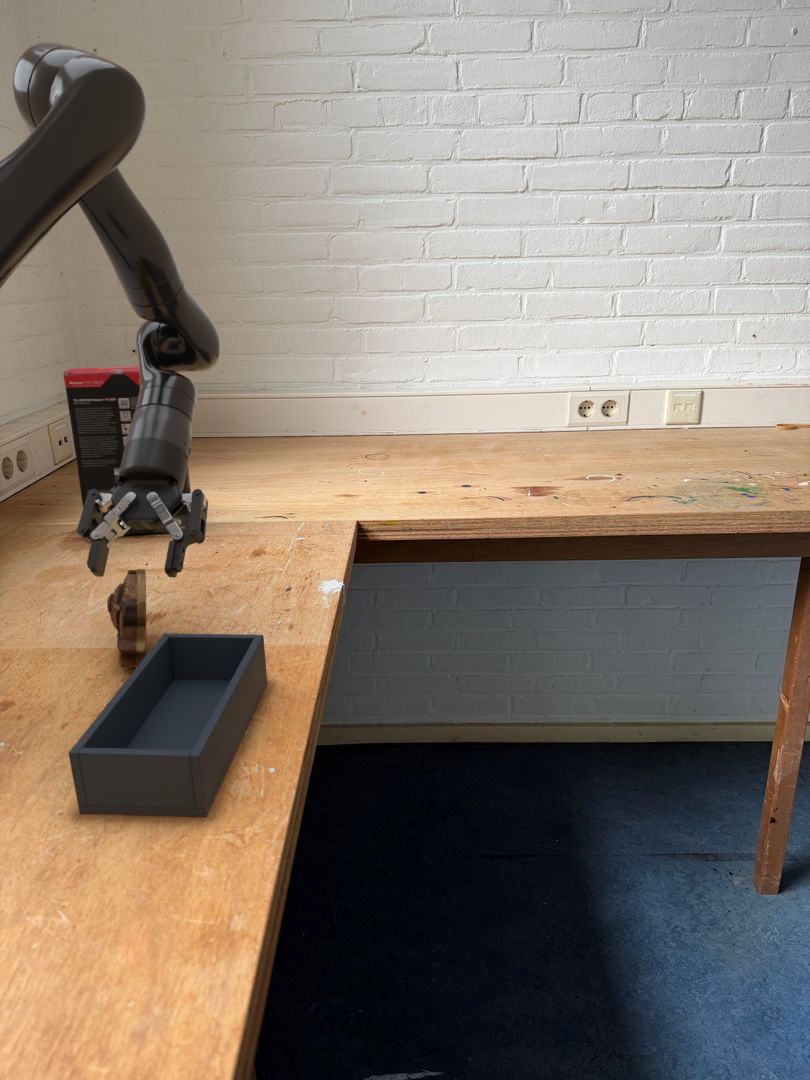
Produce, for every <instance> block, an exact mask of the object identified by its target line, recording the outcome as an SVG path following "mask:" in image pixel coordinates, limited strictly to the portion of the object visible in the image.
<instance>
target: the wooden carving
mask: <svg viewBox="0 0 810 1080" xmlns="http://www.w3.org/2000/svg"><path fill="white" fill-rule="evenodd" d="M146 573H147V572H146V569H145V568H138V569H130V570H128V571H127V574H126V575H125V577H124V580H123V583H119V584H118V585H117V586H116V588H115V589H114V591H113V592H112V593H110V595H109V596H108V598H107V602H106V608H107V612H108V613H109V617H110V620H111V622H112V623H111V624H112V626H113V627H114V629H116V631H117V634H116V637H117V640H116V647H117V650H118V664H119V667H120V668H122V669H123V668H124V669H125V668H137V667H138V665H139V664H140V663H141V662H142V660H143V659H144V658H145V657H146V655H147V654H148V653H147V647H148V646H147V574H146Z"/></svg>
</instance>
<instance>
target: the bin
mask: <svg viewBox="0 0 810 1080" xmlns="http://www.w3.org/2000/svg"><path fill="white" fill-rule="evenodd" d="M266 661H267V659H266V650H265V639H264V634H248V633H247V634H241V633H240V634H238V633H237V634H235V633H224V634H223V633H163V634H162V635H161V636H160V638H159V639H158V640H157V642H155V644H154V645H153V647H152V648H151V649H150V650H149V652H148V653H147V655H146V657H145V658H144V659H143V660H142V662H141V663H140V664H139V665H138V667H135V669H134V670H133V672H132V673H131V674H130V675H129V677H128V678H127V679H126V680H125V682H123V684H122V685H121V687H120V688H118V690H117V691H116V693H115V694H114V695H113V696H112V698H111V699H110V700H109V702H108V703H107V704H106V705H105V707H104V708H103V709H102V710H101V711H100V712H99V714H97V716H96V718H95V719H94V720H93V722H92V723H91V724H90V725H89V726H88V728H87V729H86V730H85V731H84V732H83V734H82V735H81V736H80V738H79V739H78V740H77V741H76V742H75V744H74V745H73V746H72V748H71V749H70V750H69V751H68V758H69V763H70V764H69V765H70V768H71V774H72V780H73V785H74V790H75V791H74V792H75V796H76V802H77V806H78V807H77V808H78V812H79V814H91V815H93V814H94V815H123V816H124V815H127V816H128V815H129V816H160V817H161V816H163V817H164V816H166V817H168V816H169V817H195V818H201V817H202V818H206V817H207V816H208V815H209V812H210V810H211V807H212V805H213V803H214V802H215V799H216V797H217V795H218V792H219V790H220V788H221V786H222V784H223V782H224V779H225V778H226V775H227V773H228V771H229V768H230V766H231V764H232V762H233V760H234V758H235V756H236V753H237V751H238V750H239V747H240V744H241V743H242V740H243V738H244V736H245V733H246V731H247V730H248V727H249V725H250V723H251V721H252V719H253V716H254V714H255V712H256V709H257V707H258V705H259V703H260V701H261V699H262V697H263V694H264V692H265V690H266V688H267V686H268V674H267V662H266Z"/></svg>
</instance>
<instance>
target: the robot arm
mask: <svg viewBox="0 0 810 1080" xmlns="http://www.w3.org/2000/svg"><path fill="white" fill-rule="evenodd" d="M12 91H13V92H12V93H13V98H14V99H13V100H14V103H15V105H16V108H17V110H18V113H19V114H20V115H19V116H20V117H21V118H22V121H23V122H24V123H25V125H26V127H27V129H28V130H29V132H30V133H29V135H28V136H27V137H26V138H25V140H23V142H21V144H19V146H17V147H16V148H15V149H14V150H13V151H12V152H10V153H9V154H8V155H7V156H5V157H4V158H2V159H0V290H1V289H2V288H3V286H4V285H5V284H6V282H8V280H9V279H10V277H11V276H12V275H13V273H14V272H15V271H16V270H17V269H18V268H19V266H20V265H21V264H22V263H23V262H24V261H25V259H27V257H29V256H30V254H31V253H32V252H33V251H34V250H35V249H36V247H38V246H39V245H40V243H41V242H42V241H43V240H44V239H45V238H46V237H47V235H48V234H50V232H51V231H53V230H52V229H54V228H55V226H56V225H57V224H58V223H59V222H60V221H61V219H63V218H64V217H65V216H66V215H67V214H68V212H70V211H71V210H72V209H73V208H74V207H75V206H76V205H77V204H78V206H79V208H80V210H81V211H82V213H83V214H84V216H85V218H86V219H87V221H88V223H89V225H90V226H91V228H92V231H94V234H95V235H96V237H97V239H98V241H99V243H100V245H101V247H102V249H103V251H104V252H105V254H106V256H107V258H108V260H109V262H110V264H111V266H112V268H113V271H114V273H115V275H116V277H117V280H118V282H119V284H120V286H121V288H122V290H123V293H124V295H125V296H126V299H127V302H128V303H129V305H130V307H131V309H132V311H133V312H134V313H135V314H136V315H137V316H138V317H139V318H140V319H143V320H144V321H143V322H142V323H141V324H140V326H139V327H138V329H137V331H136V334H135V349H136V355H137V361H138V362H137V363H138V367H139V377H140V390H139V395H138V399H137V404H136V408H135V413H134V417H133V419H132V422H131V424H130V427H129V430H128V435H127V439H126V444H125V449H124V453H123V458H122V462H121V467H120V472H119V477H118V486H117V488H116V490H115V491H114V492H113V493H112V494H105V493H99V492H98V491H97V490H96V489H91V490H90V491H89V492H88V495H87V498H86V501H85V505H84V508H83V507H82V511H81V515H80V519H79V521H78V525H77V528H76V533H77V534H78V535H79V537H81V538H82V539H83V540H84V541H85V542H86V543H87V544H90V547H89V551H88V556H87V560H86V565H87V568H88V569H89V571H90V572H91V574H92V575H94V576H95V577H96V578H103V577H104V575H105V572H106V567H107V563H108V559H109V553H110V548H109V546H110V545H111V544H112V543H113V542H114V541H115V540H116V539H118V538H119V537H123V536H124V535H126V534H125V533H126V532H127V531H128V530H129V529H130V528H132V529H133V530H142V529H150V530H159V528H161V527H163V526H165V527H166V528H167V530H168V531H169V532H168V533H169V535H170V536H171V537H172V540H169V541H168V546H167V552H166V558H165V563H164V573H165V574H166V575H167V577H168V578H177V577H178V573H179V574H180V573H181V572H182V571H183V569H184V563H185V557H186V552H187V548H188V547H189V546H190V545H193V544H197V545H201V544H203V543H204V542H205V540H206V530H207V521H208V507H209V501H208V498H207V497H206V495H205V493H204V492H203V491H202V489H200V488H196V489H193V491H191V493H189V494H183V489H184V484H185V478H186V472H187V466H188V467H189V460H190V457H191V455H192V441H193V427H194V426H193V425H194V420H195V413H196V408H197V402H198V389H197V387H196V385H195V384H194V382H193V381H192V380H191V379H190V378H188V377H187V376H185V375H183V374H181V373H189V372H191V373H192V372H193V373H196V372H197V373H198V372H205V371H210V370H212V368H214V367H215V366H216V365H217V363H218V362H219V360H220V357H221V354H222V353H221V352H222V342H221V338H220V334H219V331H218V329H217V327H216V325H215V323H214V322H213V320H212V319H211V317H210V316H209V314H208V313H207V312H206V310H205V309H204V308H203V307H202V305H200V303H199V302H198V301H197V299H196V298H195V296H194V295H193V294H192V293H191V291H190V290H189V288H188V287H187V286H186V284H185V282H184V279H183V275H182V274H181V271H180V269H179V266H178V263H177V261H176V257H175V255H174V253H173V250H172V249H171V245H169V242H168V241H167V239H166V236H165V235H164V233H163V231H162V230H161V228H160V227H159V225H158V224H157V222H156V221H155V220H154V218H153V217H152V216H151V214H150V213H149V211H147V209H146V207H145V206H144V205H143V203H142V202H141V200H140V199H139V198H138V196H137V194H136V193H135V192H134V191H133V189H132V187H131V186H130V185H129V183H128V182H127V180H126V178H125V177H124V175H123V173H122V171H121V170H120V167H119V166H120V165H121V164H122V163H123V162H124V161H125V160H126V158H128V156H129V155H130V154H131V153H132V151H133V150H134V149H135V147H136V146H137V144H138V142H139V140H140V138H141V136H142V134H143V131H144V128H145V124H146V119H147V100H146V96H145V92H144V90H143V87H142V85H141V83H140V81H138V80H137V78H136V76H135V75H134V74H133V73H132V72H130V71H129V70H127V68H125V67H123V66H122V65H120V64H118V63H116V62H114V61H113V60H110V59H108V58H106V57H103V56H99V55H97V54H94V53H92V52H88V51H85V50H82V49H80V48H77V47H75V46H71V45H68V44H64V43H59V42H53V41H42V42H37V43H35V44H32V45H31V46H29V47H28V48H26V49H25V50H24V51H23V52H22V53H21V55H20V56H19V57H18V59H17V61H16V63H15V66H14V70H13V75H12ZM175 372H179V374H178V373H175ZM112 504H113V505H114V508H113V509H112V510H111V511H110V512H109V513H108V514H107V515H106V516H105V517H104V521H103V522H102V523H101V524H100V522H101V519H102V515H103V512H107V509H108V507H109V506H110V505H112ZM184 504H186V505H187V508H188V509H189V511H190V519H189V529H187V530H184V531H181V529H180V528H179V526H178V525H177V523H176V522H175V520H174V519H173V517H174V516H175V515H176V514H177V513H178V511H179V510H180V509H181V508H182V507H183V506H184ZM120 517H121V519H122V521H121V522H120V523H119V524H117V521H118V519H119V518H120Z"/></svg>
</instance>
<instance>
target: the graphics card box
mask: <svg viewBox="0 0 810 1080" xmlns="http://www.w3.org/2000/svg"><path fill="white" fill-rule="evenodd" d="M175 373H178V374H180V372H175ZM62 377H63V380H64V381H63V382H64V388H65V394H66V401H67V407H68V414H69V421H70V426H71V433H72V441H73V446H74V447H73V448H74V452H75V453H74V454H75V457H76V458H75V459H76V466H77V474H78V482H79V490H80V496H81V504H82V509H83V508H84V505H85V501H86V498H87V495H88V492H89V491H90V490H91V489H96V490H97V491H98V492H99V493H105V494H112V493H113V492H114V491H115V490H116V488H117V486H118V477H119V472H120V467H121V462H122V458H123V453H124V449H125V444H126V439H127V435H128V430H129V427H130V424H131V422H132V419H133V417H134V413H135V408H136V404H137V399H138V395H139V390H140V377H139V366H120V367H119V366H117V367H115V366H114V367H113V366H112V367H91V368H89V367H86V368H69V369H68V370H65V371H63V374H62ZM189 493H192V489H191V481H190V471H189V465H188V466H187V472H186V478H185V484H184V489H183V494H189ZM113 508H114V505H113V504H112V505H110V506H109V507H108V509H107V512H103V515H102V519H101V522H100V524H101V523H102V522H103V521H104V517H105V516H106V515H107V514H108V513H109V512H110V511H111V510H112V509H113ZM173 519H174V520H175V522H176V523H177V525H178V526H179V528H180V529H181V531H184V530H187V529H189V519H190V511H189V509H188V508H187V505H186V504H184V506H183V507H182V508H181V509H180V510H179V511H178V513H177V514H176V515H175V516H174V517H173ZM121 521H122V519H121V517H120V518H119V519H118V521H117V524H119V523H120V522H121ZM161 533H164V534H165V533H169V531H168V530H167V528H166V527H165V526H163V527H161V528H159V530H150V529H142V530H133V529H132V528H130V529H129V530H128V531H127V532H126V533H125V534H124V535H141V534H161Z"/></svg>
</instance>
